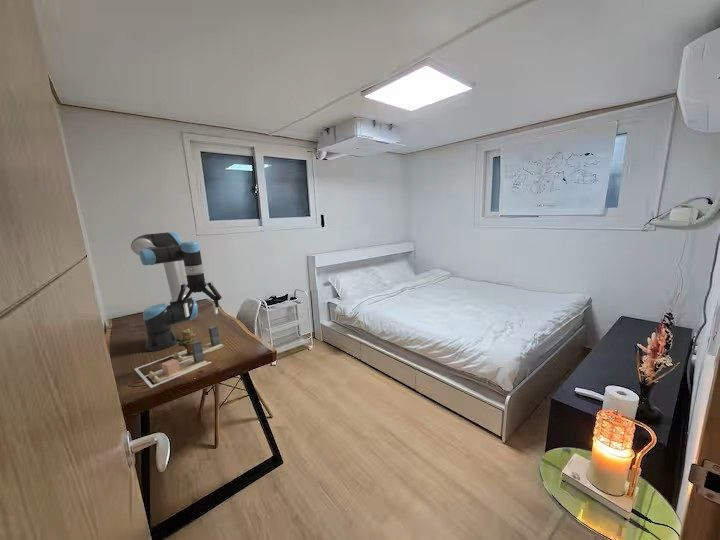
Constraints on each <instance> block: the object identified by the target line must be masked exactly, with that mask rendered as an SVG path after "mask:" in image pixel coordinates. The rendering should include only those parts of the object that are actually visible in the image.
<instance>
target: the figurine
mask: <svg viewBox="0 0 720 540" xmlns="http://www.w3.org/2000/svg"><path fill="white" fill-rule="evenodd" d="M181 332H182V333H181V335H182V339H180V338H179V339H178V338H177V339H176V341H177V343H178V346H179V347H182V346H183V348H185V350H187V354H186V355H185V356H193V353H192V348H191V343H192V342H195V341H197V338H196V334H197V333H194V331H193V328H192V327H191V328H186V329H184V330H182V331H181Z"/></svg>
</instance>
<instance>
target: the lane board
mask: <svg viewBox="0 0 720 540" xmlns="http://www.w3.org/2000/svg"><path fill="white" fill-rule="evenodd" d="M186 351H187V349H185V350H183V351H180V352H179V351H178V352H177V353H178V354H180V353H183V352H186ZM172 356H174V354H171V355H168V356H166V357H163V358H160V359H158V360H154V361H153V362H149V363H146V364H144V365H141V366H138V367H135V368H134V369H133V370H134V371H135V373H136V374H137V375H139V377H140V378H141V379H142V380H143V381H144V383H146V385H148V387H149V388H150V389H152V388H154V387H157V386H159V385H161V384H164V383H166V382H169V381H171V380H174V379H176V378H178V377H181V376H182V375H185V374H188V373H191V372H193V371H195V370H197V369H201V368H202V367H204V366H207V365H210V364H211V363H212V361H207V362H208V363H206V364H203V365H201V366H199V367H196V368H194V369H191V370H189V371H187V372H184V373H182V374H179V375H177V376H174V377H172V378H170V379H167V380H165V381H162V382H160V383H158V384H155V383H154V384H152V382H151V381H150V380H149V378H147V377H148V376H150V373H149V374H146V375H144V374H143V373H142V372H141V370H139V369H141V368H144V367H147V366H149V365H152V364H154V363H158V362H160V361H163V360H166V359H168V358H171V357H172ZM191 359H194V358H190V359H187V360H185V361H182V362H179V364H181V363H184V362H186V361H189V360H191ZM161 371H163V369H162V368H161V369H159V370H156V371H154V372H153V373H154V374H155V373H158V372H161Z"/></svg>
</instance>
